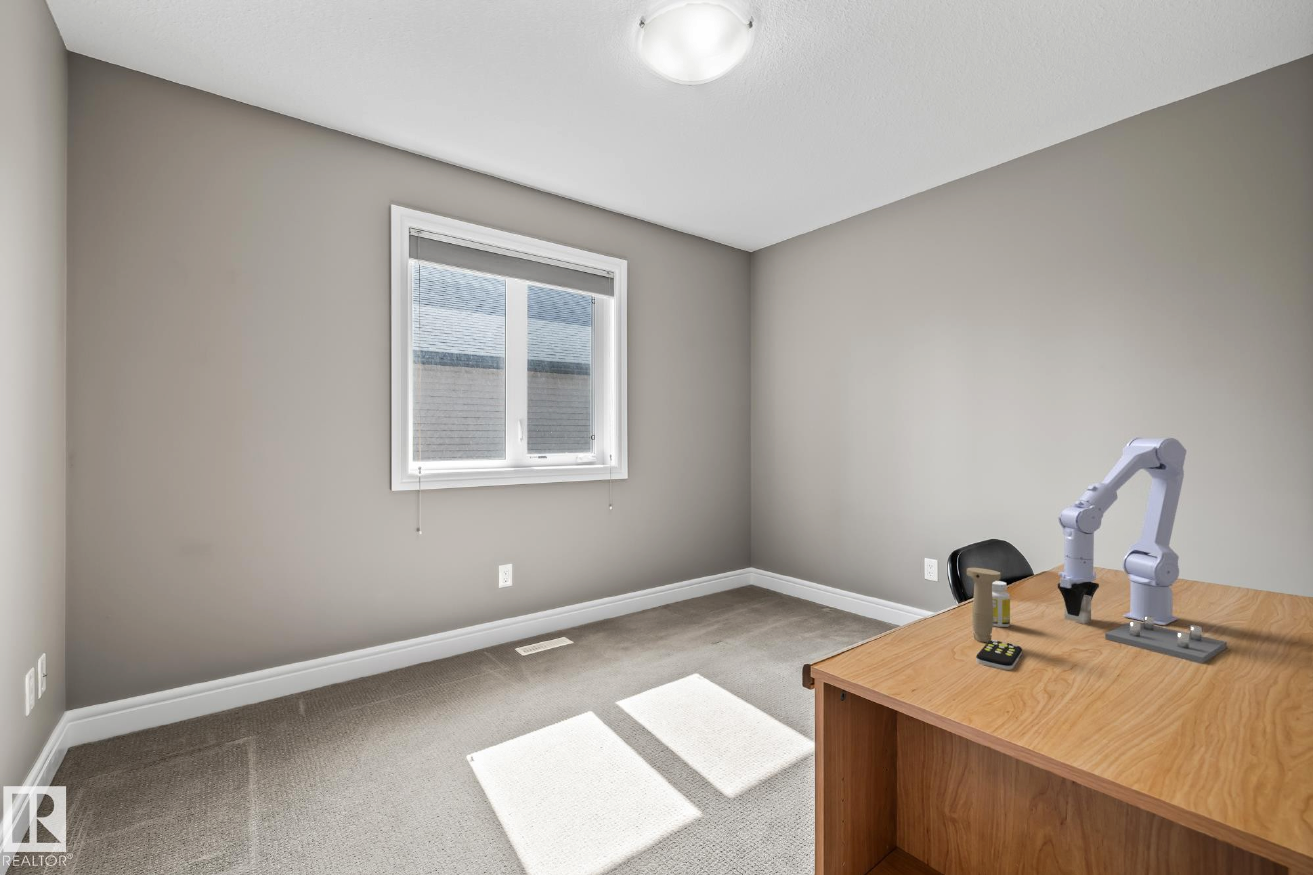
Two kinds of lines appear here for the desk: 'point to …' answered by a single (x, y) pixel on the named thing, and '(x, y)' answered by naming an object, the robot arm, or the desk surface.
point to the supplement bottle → (1000, 604)
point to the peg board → (1167, 640)
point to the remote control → (999, 655)
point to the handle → (982, 602)
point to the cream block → (1081, 611)
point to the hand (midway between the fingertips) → (1077, 613)
